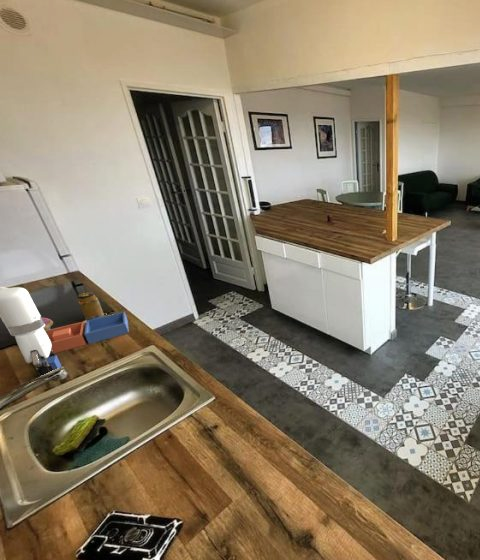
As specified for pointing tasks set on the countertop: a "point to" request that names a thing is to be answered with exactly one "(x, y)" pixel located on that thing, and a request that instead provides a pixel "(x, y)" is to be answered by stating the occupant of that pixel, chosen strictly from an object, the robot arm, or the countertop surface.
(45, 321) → the cupcake
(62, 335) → the terracotta block
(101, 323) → the blue bin
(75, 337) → the terracotta bin
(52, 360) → the blue block
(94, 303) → the condiment
